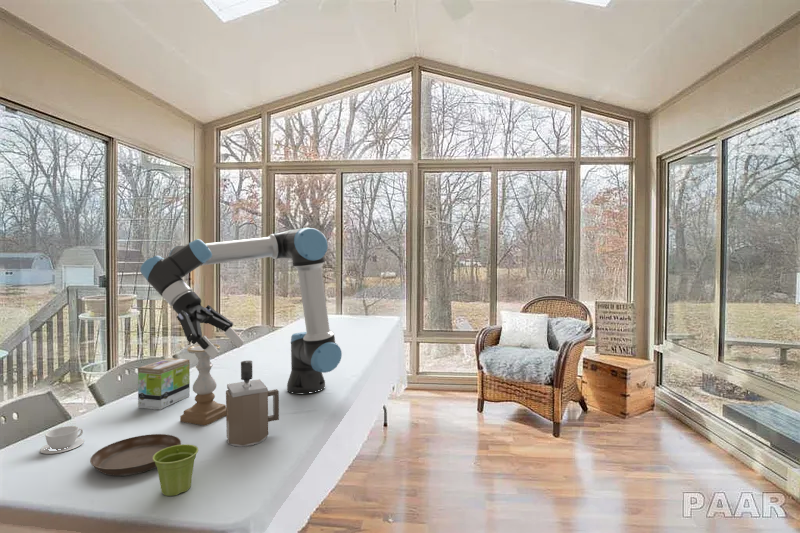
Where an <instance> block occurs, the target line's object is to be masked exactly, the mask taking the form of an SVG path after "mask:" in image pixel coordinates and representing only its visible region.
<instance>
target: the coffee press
mask: <svg viewBox="0 0 800 533" xmlns="http://www.w3.org/2000/svg"><path fill="white" fill-rule="evenodd" d="M226 388H227V389H226V390H225V405H226V416H225V419H226V439H227V444H228V445H229V446H232V447H244V446H245V447H251V446H254V444H255V445H258V444H261V443H262V442H263V440H264V441H265V440H266V439H267V438H268V436H269V422H275V421H279V420H280V403H279V402H280V400H279V399H280V397H279V396H280V395H279V394H280V391H279V390H278V389H276V388H275V389H271V390H268V387H267V386H266V384H264V382H263V381H262V380H261V379H260V378H259V379H253V380H252V379H251V380H250V387H245V388H244V381H240V382H232V383H227V384H226ZM244 395H245V396H244ZM269 397H272V399H273V400H272V411H273V412H272V414H270V415H269ZM257 443H258V444H257Z"/></svg>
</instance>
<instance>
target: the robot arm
mask: <svg viewBox="0 0 800 533" xmlns="http://www.w3.org/2000/svg"><path fill="white" fill-rule="evenodd" d="M327 251H328V241H327V238H326V236H325V234H324V233H323V232H322V231H321V230H320V229H317V228H313V227H303V228H294V229H289V230H287V231H283V232H278V233H271V234H269V235H268V236H265V237H257V238H254V237H253V238H248V239H246V238H245V239H244V238H243V239H236V240H225V241H217V242H207V243H205V242H204V241H203V240H202V239H200V238H197V239H195V240H193V241H190V242H189V243H188V244H186V245H177V246H175V247H173V248H172V249H171V250H170V252H169V254H168V256H167V257H165V258H164V257H162V256H161V255H154V256H153V257H150V258H147V259H146V260H145V261H143V263H142V264H141V266H140V269H139V271H140V273H141V275H142V276H143V278H144V279H146V281H147V282H148V283H149V285H150V286H151V287H152V288H153V289H154V290H155V291H156V292H157V293H158V294H159V295H160V296H161V297H162V298H163V299H164V301H165V302H166V303H167V304H169V305H170V307H172V309H173V310H174V312H176V314H177V315H176V319H177V320H178V322H180V325H181V328H182V330H183V334H184V335H185V338H186V340H187V342H189V343H191V344H193V345H195V344H197V345H200V346H201V347H202V348H203V349H204V350H205V351H206V352H207V354H208V355H209V356H210V359H212V360H214V359H215V358H216V357H217V356H218V355H219V354H220V353H221V351H220V349H219V350H218V349H217V348H216V347H215V346H214V345H213V344H214V343H212V342H211V340H209V338H208V337H207V335H203V334H202V332H203V331H202V327H201V326H202V324H207V325H211V326H213V327H215V328H217V329H219V330H221V331H223V332H224V333H223V334H224V335H225V337H227V338H228V339H229V340H230V342H232V344H233V345H234V346H235V347H236V348H237V349H240V347H242V345H244V344H245V340H244V339H243V338H242V337H241V336H240V335H239V334H238V333H237V331H236V330H234V328H232V327H233V326H234V322H233V321H231V320H230V319H228V318H227V317H226V316H224V315H223V314H221V313H220V312H218V311H216V310H215V309H214V308H213V307H212V306H211V305H209V304H207V306H206V307H204V306H202V304H201V303H202V298H201V297H200V296H199V295H197V293H196V292H194V291H193V289H192V288H191V286H189V284H188V283H187V282H186V281H185V280H184V279H182V278H185V277H186V276H187V275H188V274H190V273H191V272H194V270H196V269H198V268H199V267H201V266H209V265H216V264H224V263H233V262H240V261H248V260H255V259H263V258H271V259H274V260H277V259H289V260H290V259H291V261H292V267H293V268H294V269H296V270H297V272H298V279H299V280H298V282H299V288H300V296H301V303H302V308H303V316H304V323H305V331H303V332H302V331H301V332H296V333H293V334H292V335H291V337H290V338H291V339H290V351H291V352H290V355H291V356H290V361H291V362H290V363H291V366H290V367H291V368H290V369H291V371H290V375H289V378H288V379H287V380H288V381H287V384H286V390H288V391H290V392H293V393H292V394H294V393H309V392H315V391H318V390H321V389H323V388H324V387H325V388H326V380H325V378H324V375H323V374H324V373H325V374H326V373H330V372H332V371H334V370H335V369H336V368H337V367H338V366H339V364H340V362H341V360H342V356H343V355H342V354H343V352H342V349H341V347H340V345H339V344H338V343H336V340H335V339H336V338H335V333H334V331H332V329H330V323H329V315H328V309H327V308H328V307H327V300H326V293H325V287H324V286H325V285H324V279H323V271H322V267H323V265H325V263H326V262H325V260H326V259H325V255H326V253H327ZM323 390H324V389H323ZM288 391H287V392H288ZM290 392H289V393H290Z"/></svg>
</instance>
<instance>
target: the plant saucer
mask: <svg viewBox="0 0 800 533" xmlns="http://www.w3.org/2000/svg"><path fill="white" fill-rule="evenodd" d="M175 445H182V440H181V439H180V438H179V437H177V436H175V435H172V434H164V433H156V434H155V433H153V434H151V433H150V434H145V435H137V436H133V437H129V438H124V439H121V440H118V441H115V442H112V443H110V444H107V445H106V446H104V447H102V448H100V449H98V450H97V451H95V452H94V453H93V454H92V456H91V457H90V459H89V462H90V464H91V466H92V467H94V469H95V470H97V471H99V472H101V473H103V474H105V475H106V476H107V475H108V476H114V477H115V476H116V477H120V476H121V477H123V476H132V475H137V474H142V473H145V472H148V471H150V470H153V469H157V466H156V464H155V462H154V461H153V456H154V454H155V453H157V452H158V451H160V450H162V449H165V448H167V447H171V446H175Z"/></svg>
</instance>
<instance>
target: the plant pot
mask: <svg viewBox="0 0 800 533" xmlns="http://www.w3.org/2000/svg"><path fill="white" fill-rule="evenodd" d="M198 452H199V448H198V447H197V445H194V444H187V443H186V444H181V445H175V446H171V447H167V448H165V449H162V450H160V451H158V452H157V453H155V454H154V456H153V461H154V462H155V464H156V466H157V467H156V469H157V474H158V479H159V484H160V490H161V493H162V494H163V495H164V496H166V497H169V496H170V497H171V496H177V495H179V494H181V493H186V492H187V491H188V490H189V489H191V486H192V480H193V472H194V464H195V459H196V457H197V454H198Z"/></svg>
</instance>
